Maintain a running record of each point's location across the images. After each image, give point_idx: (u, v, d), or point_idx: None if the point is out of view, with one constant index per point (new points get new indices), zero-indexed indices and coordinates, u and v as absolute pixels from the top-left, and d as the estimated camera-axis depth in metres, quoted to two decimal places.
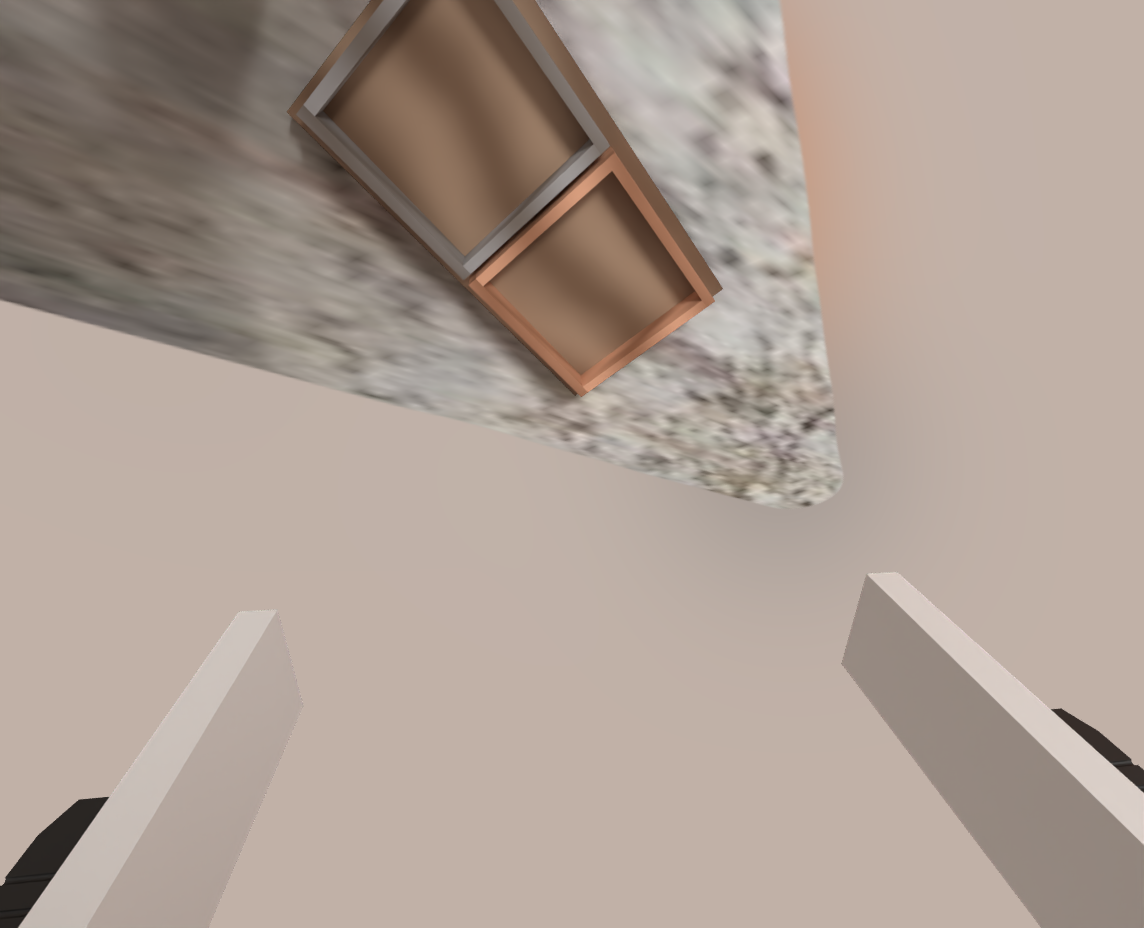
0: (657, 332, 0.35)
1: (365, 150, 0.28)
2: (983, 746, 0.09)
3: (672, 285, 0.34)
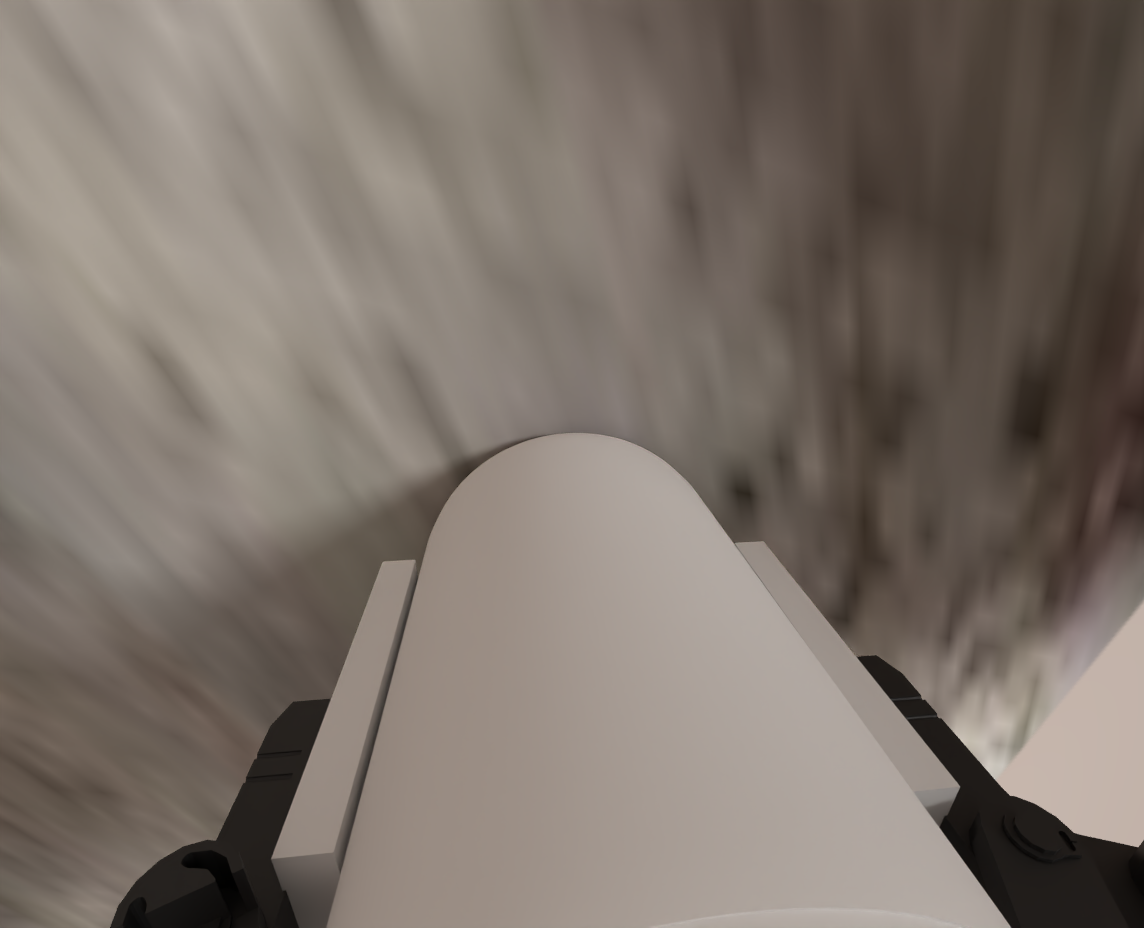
0: None
1: None
2: None
3: None
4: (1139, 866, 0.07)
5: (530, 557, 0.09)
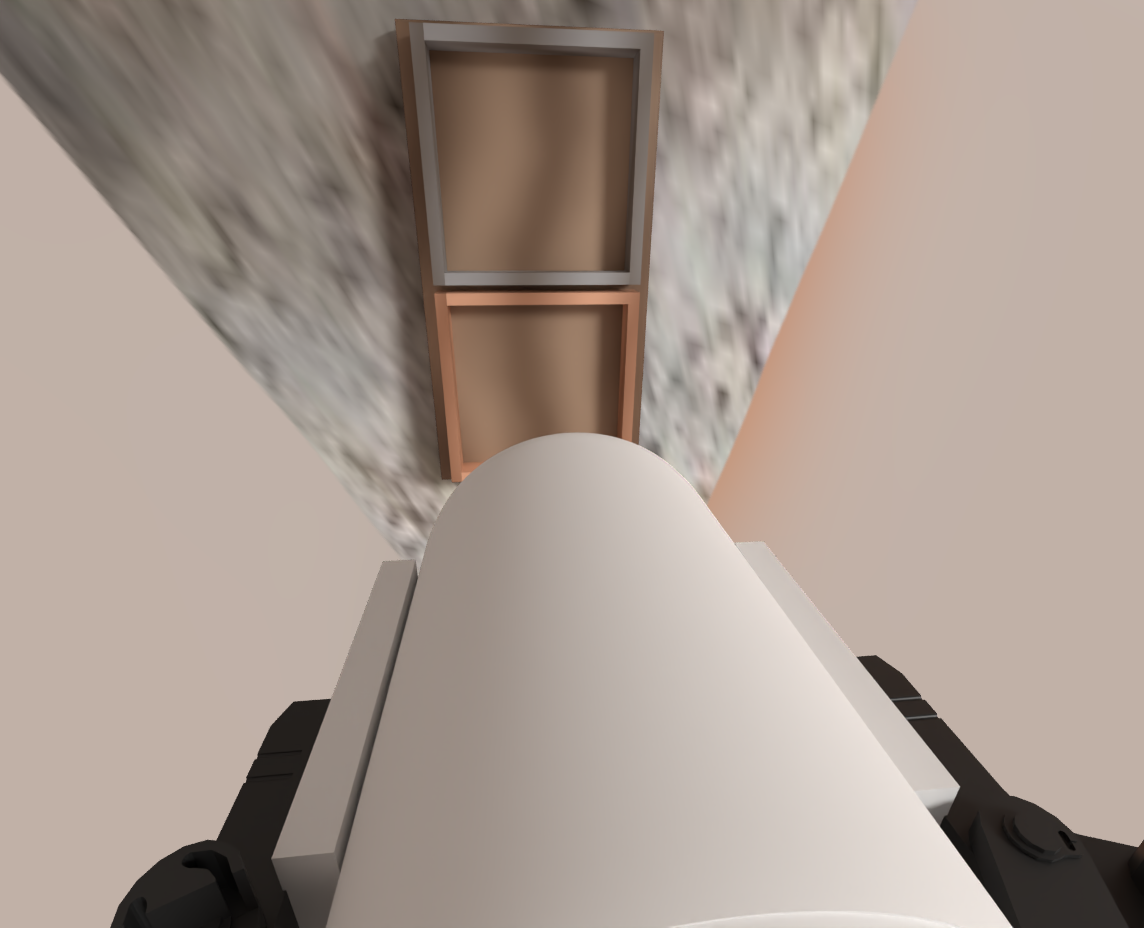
0: None
1: (436, 111, 0.26)
2: None
3: None
4: (1138, 866, 0.07)
5: (531, 558, 0.08)
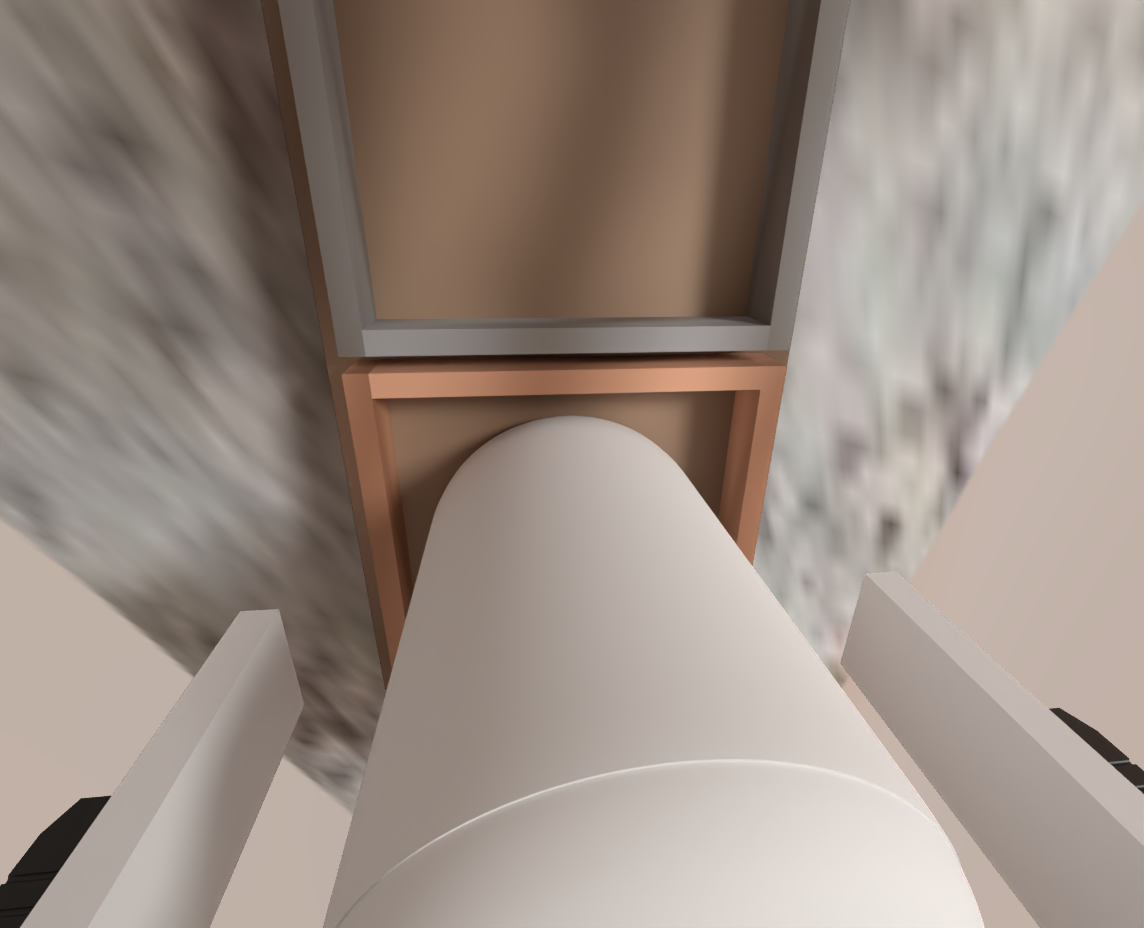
0: None
1: None
2: (981, 745, 0.09)
3: None
4: None
5: (527, 518, 0.10)
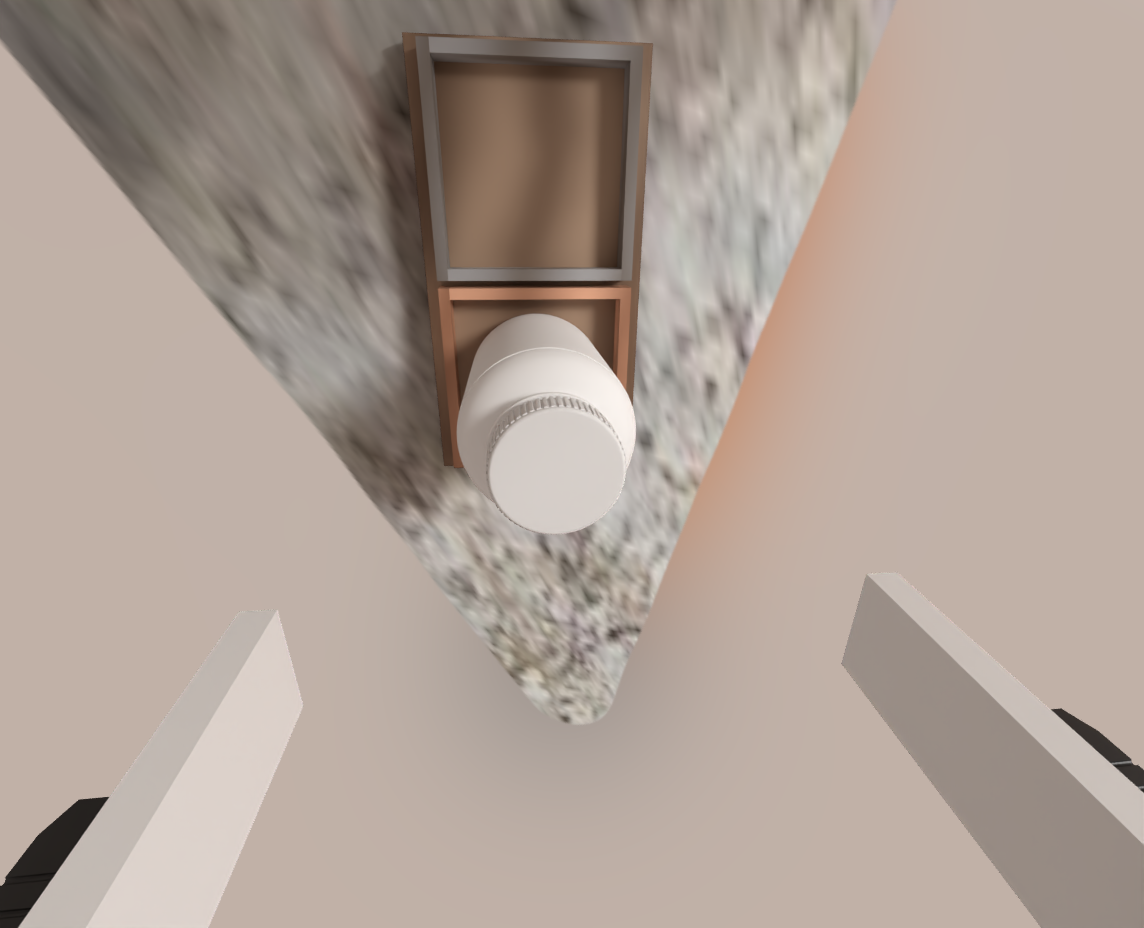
0: None
1: (440, 118, 0.28)
2: (983, 746, 0.09)
3: None
4: None
5: (514, 331, 0.27)
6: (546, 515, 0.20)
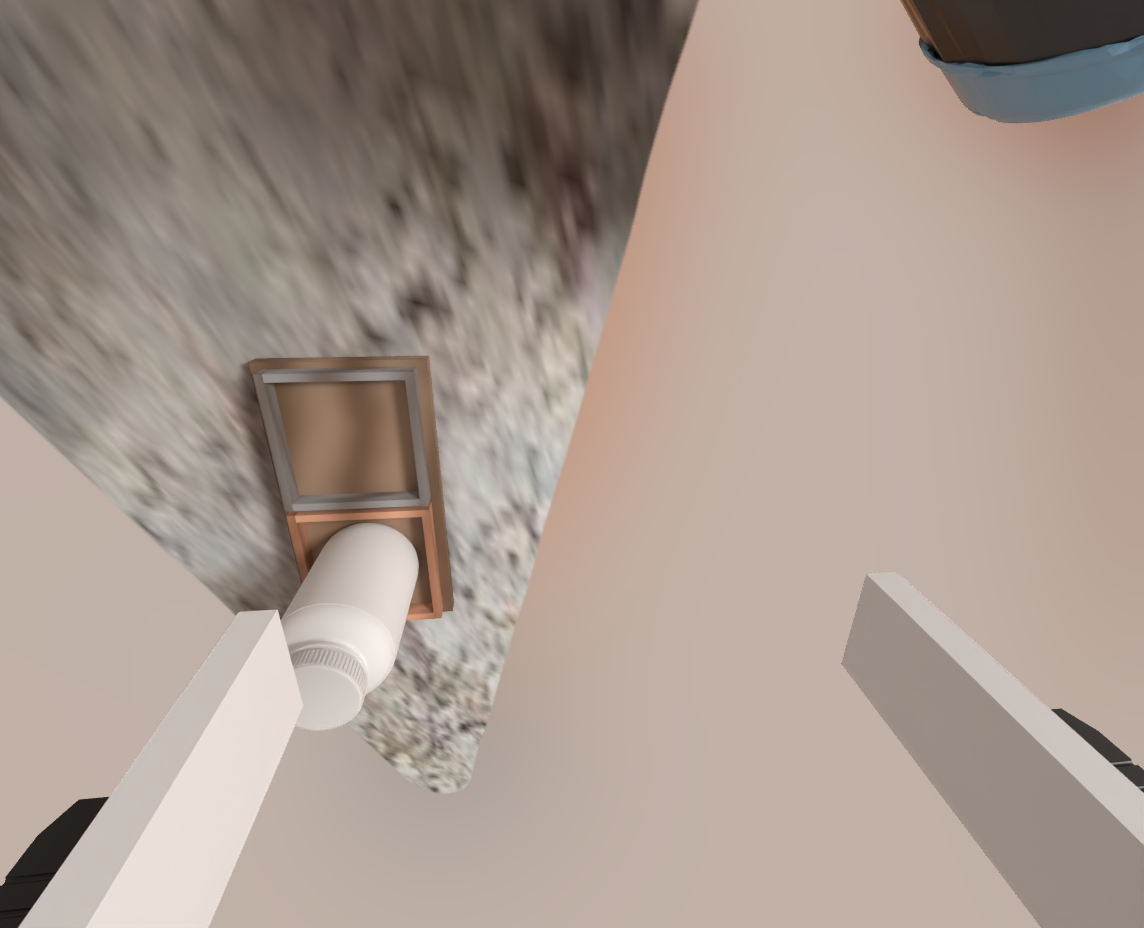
0: None
1: (281, 409, 0.40)
2: (983, 746, 0.09)
3: (422, 590, 0.47)
4: None
5: (328, 562, 0.39)
6: (313, 720, 0.33)
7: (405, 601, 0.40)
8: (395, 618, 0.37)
